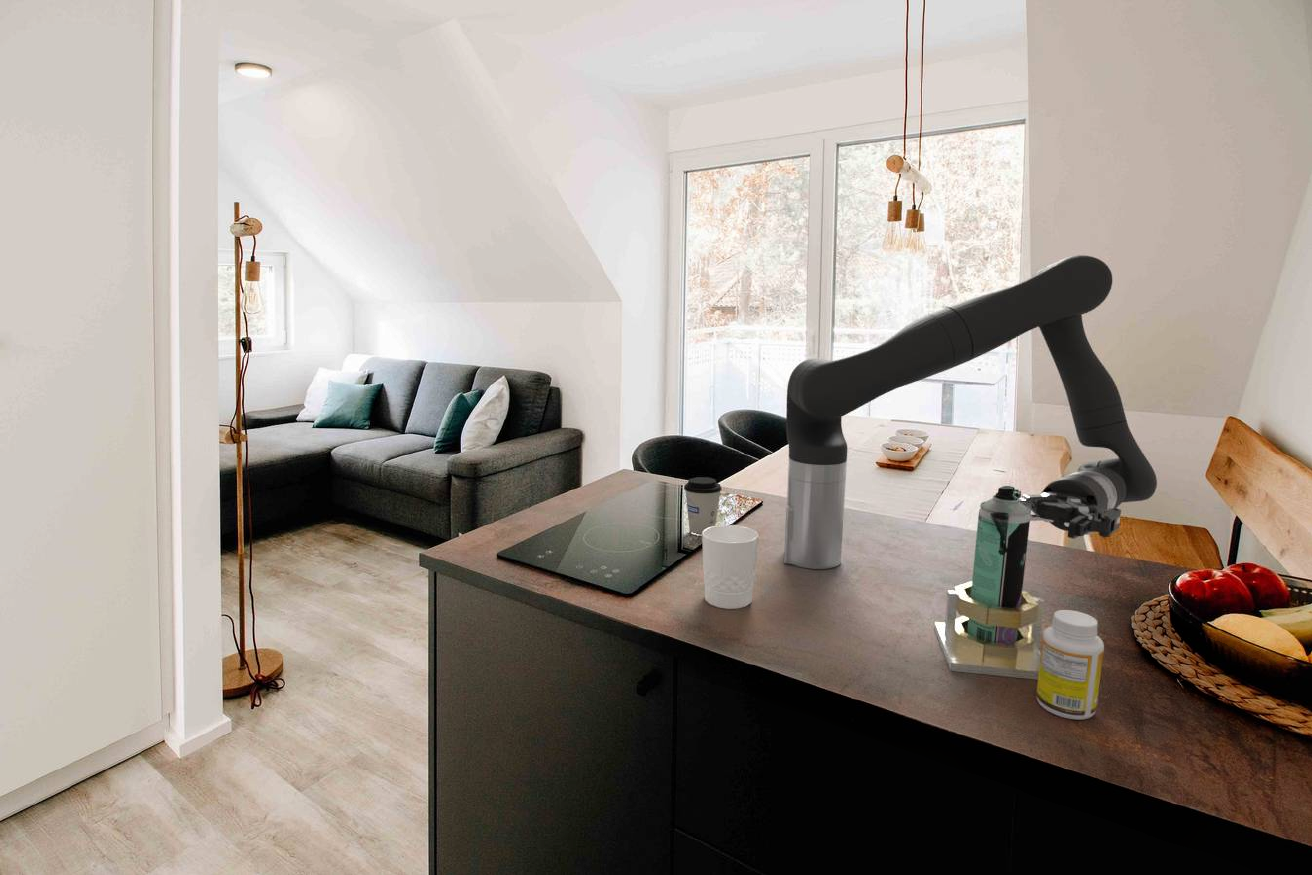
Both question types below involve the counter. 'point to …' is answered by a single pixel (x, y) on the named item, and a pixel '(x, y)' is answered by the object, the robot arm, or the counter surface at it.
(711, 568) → the white cup
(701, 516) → the coffee cup
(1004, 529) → the spray can
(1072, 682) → the supplement bottle
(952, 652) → the collar stand
